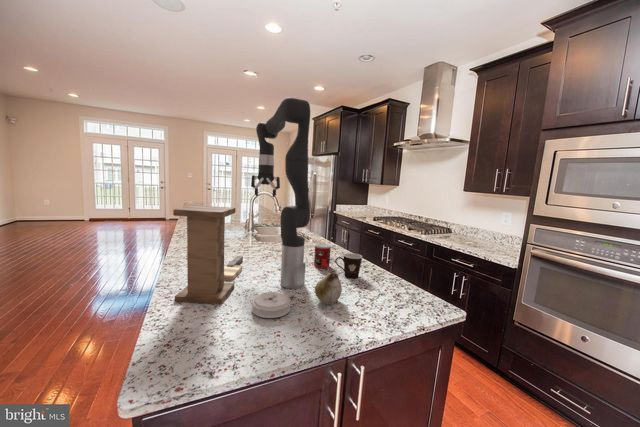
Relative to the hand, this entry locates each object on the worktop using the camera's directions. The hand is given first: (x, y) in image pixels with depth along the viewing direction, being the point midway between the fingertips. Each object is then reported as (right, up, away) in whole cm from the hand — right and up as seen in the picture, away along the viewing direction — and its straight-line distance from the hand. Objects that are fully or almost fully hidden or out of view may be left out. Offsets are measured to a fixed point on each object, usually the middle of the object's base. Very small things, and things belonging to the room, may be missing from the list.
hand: (265, 196), depth 138 cm
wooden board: (-14, -35, -10) cm, 39 cm away
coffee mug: (+41, -38, -10) cm, 57 cm away
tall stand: (-14, -39, -38) cm, 56 cm away
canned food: (+29, -36, +2) cm, 46 cm away
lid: (+12, -42, -47) cm, 64 cm away
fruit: (+31, -41, -38) cm, 64 cm away
